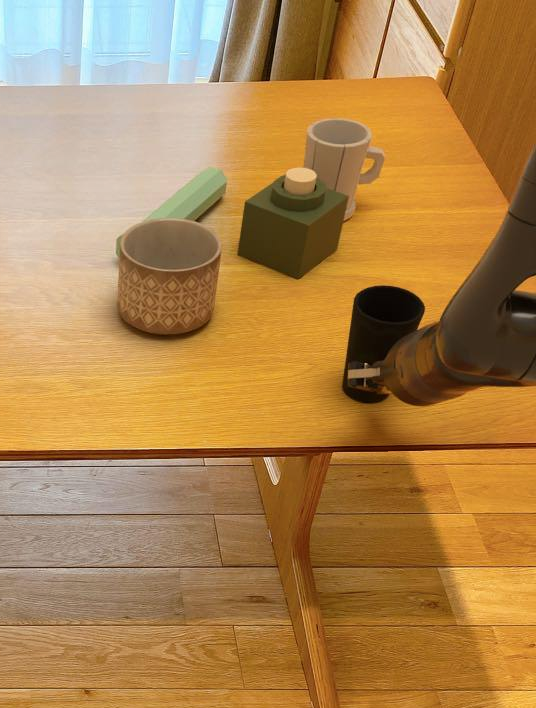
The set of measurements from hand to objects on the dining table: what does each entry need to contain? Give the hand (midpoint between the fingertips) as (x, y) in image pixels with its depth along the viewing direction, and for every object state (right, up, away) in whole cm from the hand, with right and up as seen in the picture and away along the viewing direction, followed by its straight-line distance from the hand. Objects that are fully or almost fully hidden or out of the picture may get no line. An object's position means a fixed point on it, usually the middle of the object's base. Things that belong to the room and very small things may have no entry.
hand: (383, 384), depth 116 cm
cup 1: (+5, +32, +36) cm, 48 cm away
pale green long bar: (-18, +28, +34) cm, 47 cm away
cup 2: (+1, +1, +7) cm, 7 cm away
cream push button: (-3, +30, +21) cm, 37 cm away
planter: (-22, +12, +20) cm, 32 cm away
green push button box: (-3, +23, +28) cm, 37 cm away
